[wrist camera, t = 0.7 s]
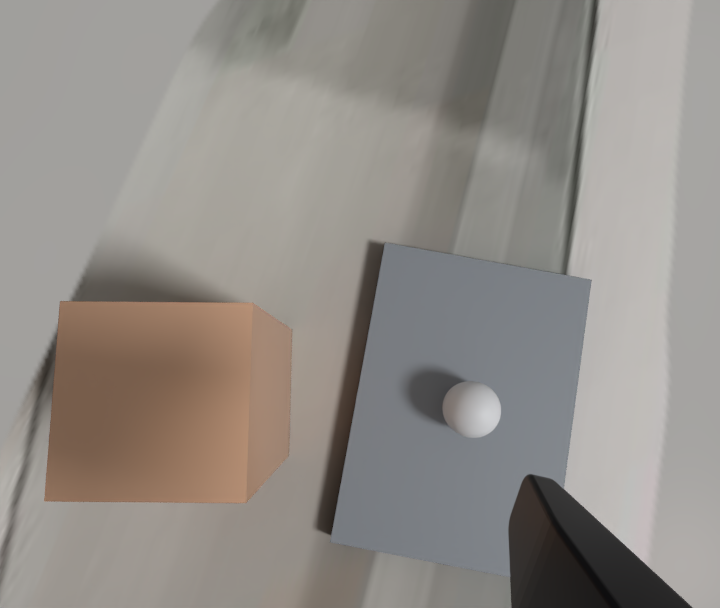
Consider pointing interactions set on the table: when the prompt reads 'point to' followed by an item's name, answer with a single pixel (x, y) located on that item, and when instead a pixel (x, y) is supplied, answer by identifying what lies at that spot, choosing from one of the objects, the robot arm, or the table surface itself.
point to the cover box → (167, 402)
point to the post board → (408, 397)
